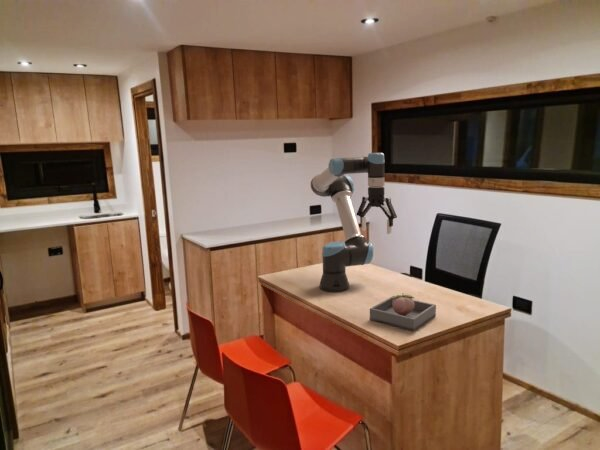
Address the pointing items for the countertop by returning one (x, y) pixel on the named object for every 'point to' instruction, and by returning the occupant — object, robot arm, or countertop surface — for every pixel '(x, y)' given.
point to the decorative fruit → (403, 304)
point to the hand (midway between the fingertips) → (376, 232)
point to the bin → (409, 321)
